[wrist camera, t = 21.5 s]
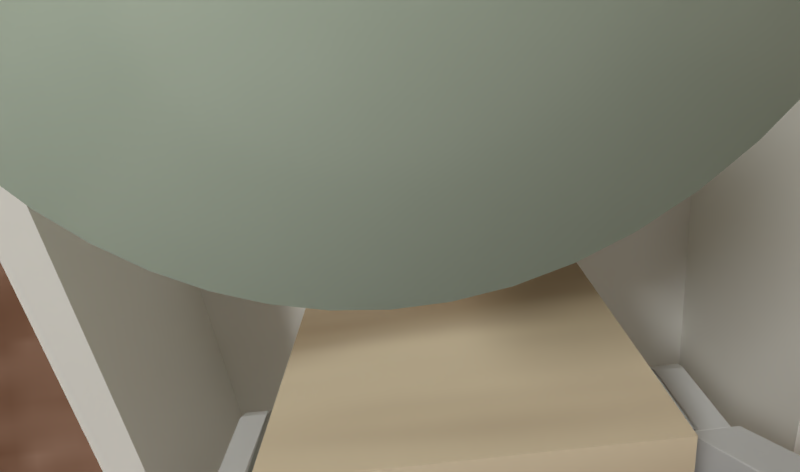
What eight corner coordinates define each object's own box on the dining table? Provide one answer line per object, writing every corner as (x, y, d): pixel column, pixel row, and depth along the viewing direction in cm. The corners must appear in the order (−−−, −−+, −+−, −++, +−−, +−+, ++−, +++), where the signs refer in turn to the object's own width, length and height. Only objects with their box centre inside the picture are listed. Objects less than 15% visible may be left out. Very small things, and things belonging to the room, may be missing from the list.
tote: (-5, -261, 10) (-379, -512, 5) (759, -415, 9) (1148, -884, 4) (243, 458, 16) (181, 631, 12) (689, 409, 16) (809, 576, 11)
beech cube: (315, 278, 11) (247, 483, 6) (565, 246, 10) (697, 435, 6) (357, 463, 13) (332, 726, 8) (570, 441, 12) (671, 699, 8)
